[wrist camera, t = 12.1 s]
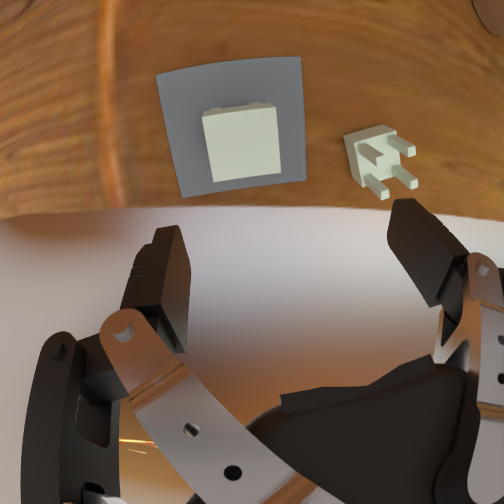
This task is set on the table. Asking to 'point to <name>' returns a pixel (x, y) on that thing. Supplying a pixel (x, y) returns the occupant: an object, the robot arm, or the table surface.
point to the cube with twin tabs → (242, 141)
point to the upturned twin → (378, 158)
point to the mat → (230, 95)
